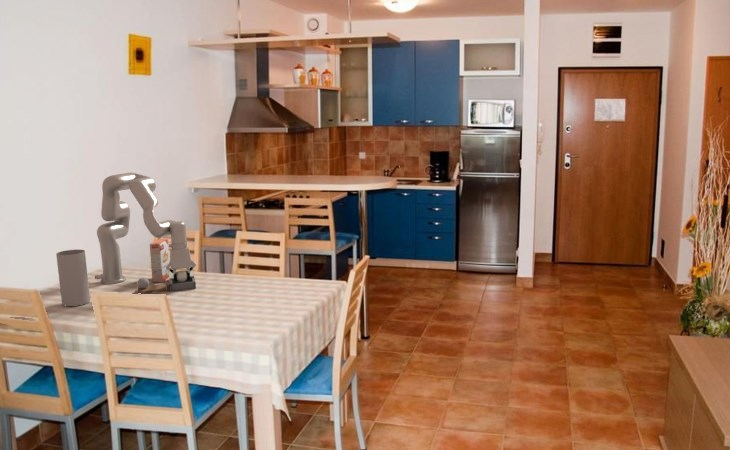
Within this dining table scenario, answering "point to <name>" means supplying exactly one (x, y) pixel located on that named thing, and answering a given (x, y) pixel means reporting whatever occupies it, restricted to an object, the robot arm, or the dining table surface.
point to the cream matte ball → (181, 276)
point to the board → (153, 289)
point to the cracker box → (159, 260)
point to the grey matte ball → (143, 283)
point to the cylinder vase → (73, 277)
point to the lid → (171, 275)
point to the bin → (182, 284)
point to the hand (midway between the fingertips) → (182, 280)
